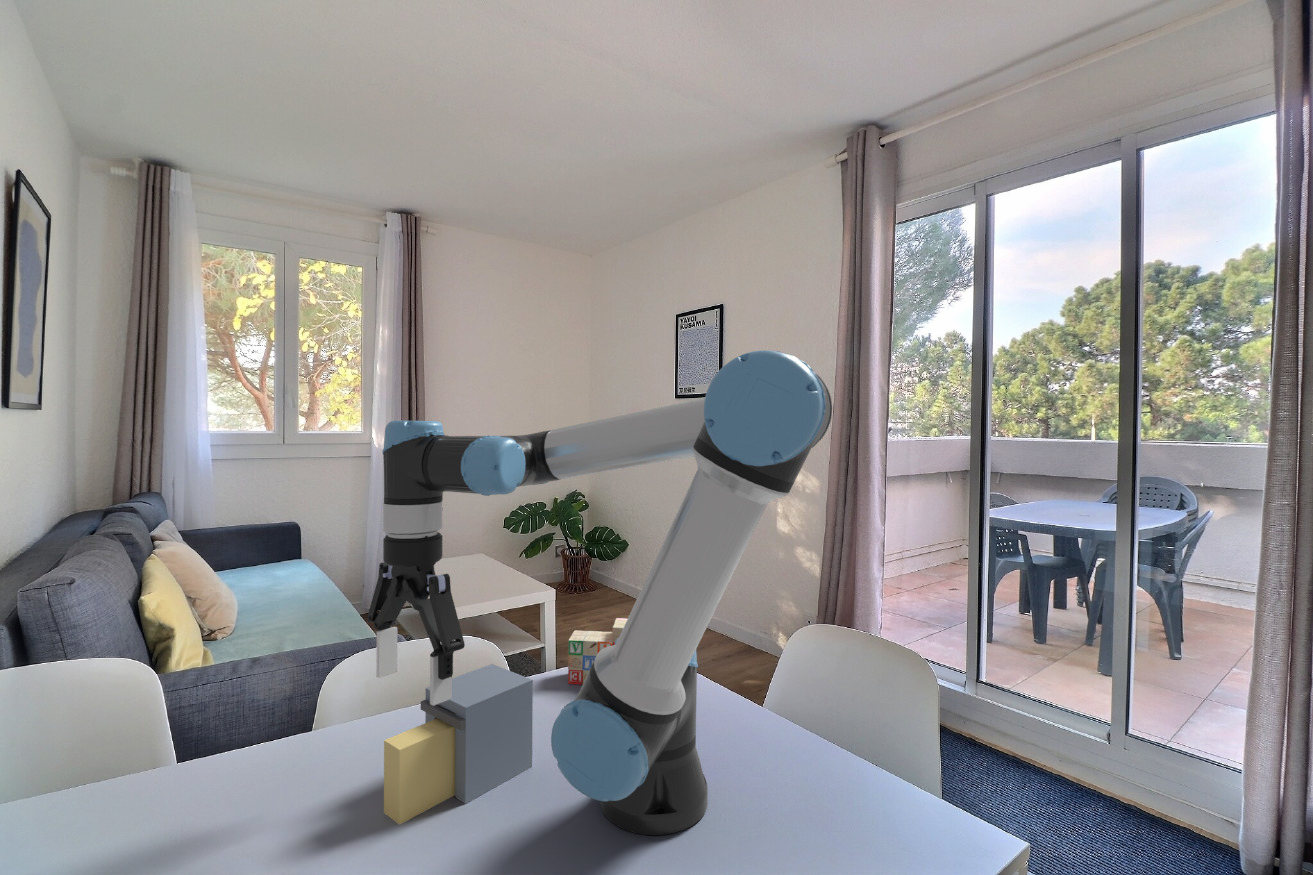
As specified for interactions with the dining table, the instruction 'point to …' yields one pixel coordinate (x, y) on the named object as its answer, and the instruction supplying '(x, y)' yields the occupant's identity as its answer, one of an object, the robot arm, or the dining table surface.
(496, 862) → the dining table surface
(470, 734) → the dispenser
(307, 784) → the dining table surface
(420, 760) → the upright yellow slab
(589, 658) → the stack of blocks
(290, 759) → the dining table surface
